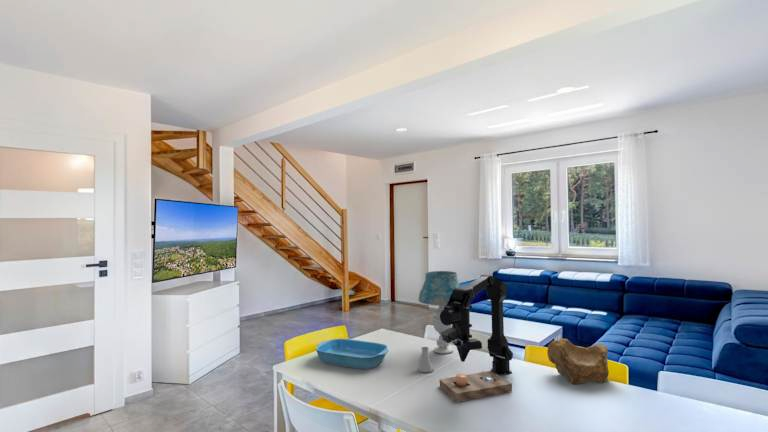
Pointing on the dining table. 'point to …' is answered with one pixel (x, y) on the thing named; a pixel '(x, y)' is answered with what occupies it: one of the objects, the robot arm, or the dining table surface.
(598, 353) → the rough brown rock
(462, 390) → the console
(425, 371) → the flask
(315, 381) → the dining table surface
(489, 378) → the steel plunger
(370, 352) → the casserole dish
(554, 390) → the dining table surface
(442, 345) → the table lamp
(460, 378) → the peach rounded cylinder
